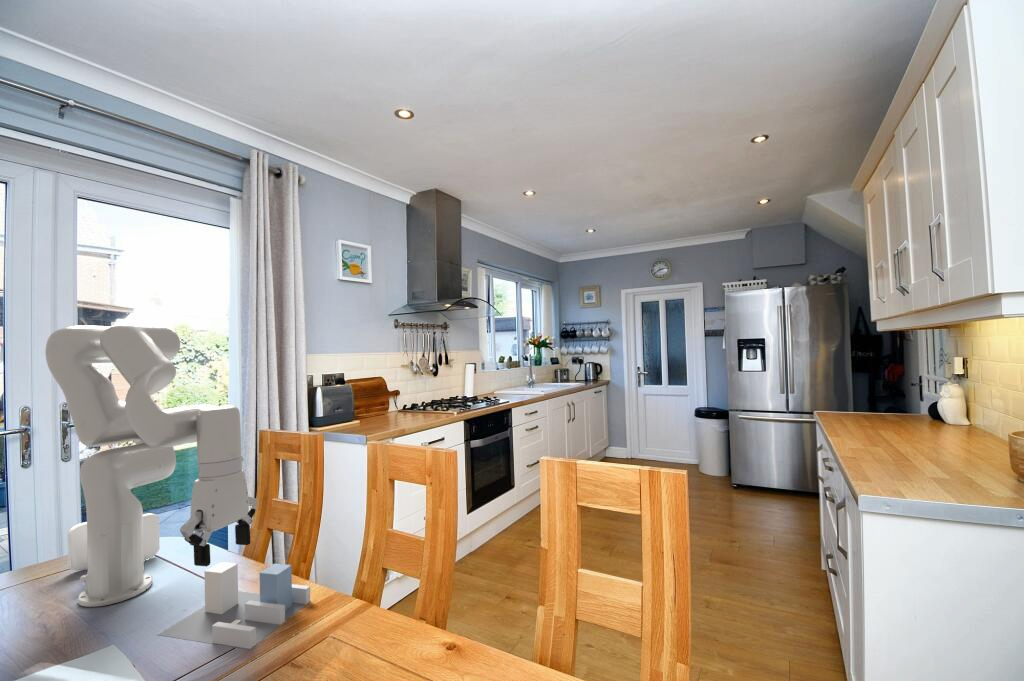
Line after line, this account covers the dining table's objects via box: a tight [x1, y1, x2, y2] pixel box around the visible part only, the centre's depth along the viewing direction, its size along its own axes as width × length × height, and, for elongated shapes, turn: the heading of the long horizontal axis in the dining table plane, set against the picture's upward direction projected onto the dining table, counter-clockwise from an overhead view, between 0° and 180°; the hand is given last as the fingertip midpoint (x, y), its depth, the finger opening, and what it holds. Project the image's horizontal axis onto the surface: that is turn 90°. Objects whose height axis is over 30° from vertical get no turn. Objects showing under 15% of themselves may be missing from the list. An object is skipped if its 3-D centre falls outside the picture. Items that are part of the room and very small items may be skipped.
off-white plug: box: [203, 561, 239, 614], centre depth 95 cm, size 4×4×8 cm
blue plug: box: [259, 563, 293, 611], centre depth 94 cm, size 4×4×8 cm
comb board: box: [157, 583, 312, 651], centre depth 91 cm, size 20×16×4 cm
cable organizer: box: [67, 512, 160, 571], centre depth 119 cm, size 15×11×12 cm
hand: (223, 554), depth 95 cm, fingers open, 9 cm apart
